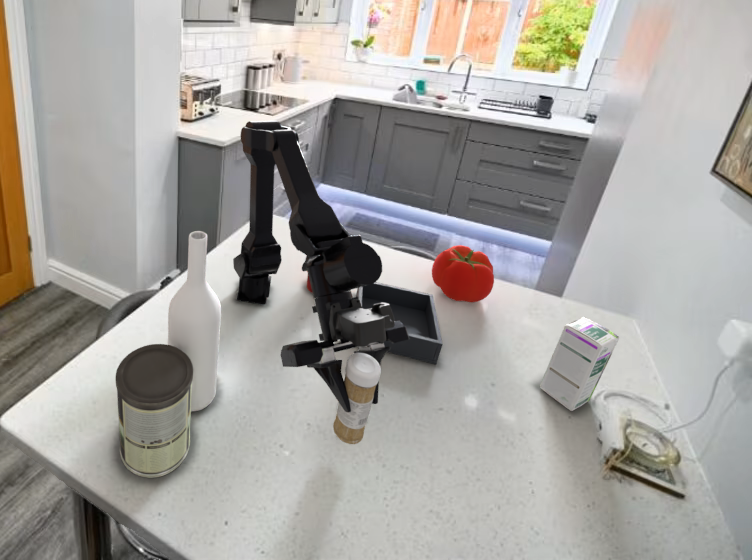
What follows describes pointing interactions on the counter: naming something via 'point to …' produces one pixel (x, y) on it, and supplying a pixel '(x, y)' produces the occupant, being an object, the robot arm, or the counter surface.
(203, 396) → the bottle
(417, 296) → the bin
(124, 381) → the coffee can
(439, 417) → the counter surface
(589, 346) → the syrup box
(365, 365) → the sprinkles bottle
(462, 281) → the tomato
